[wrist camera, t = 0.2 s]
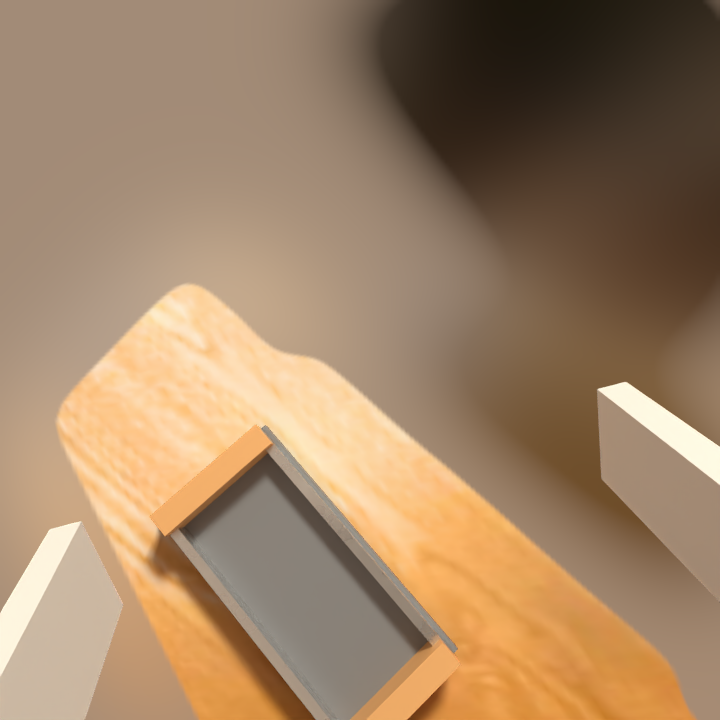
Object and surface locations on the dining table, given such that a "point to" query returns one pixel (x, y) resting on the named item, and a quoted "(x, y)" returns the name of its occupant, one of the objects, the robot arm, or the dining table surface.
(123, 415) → the dining table surface
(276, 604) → the grey shallow tray
